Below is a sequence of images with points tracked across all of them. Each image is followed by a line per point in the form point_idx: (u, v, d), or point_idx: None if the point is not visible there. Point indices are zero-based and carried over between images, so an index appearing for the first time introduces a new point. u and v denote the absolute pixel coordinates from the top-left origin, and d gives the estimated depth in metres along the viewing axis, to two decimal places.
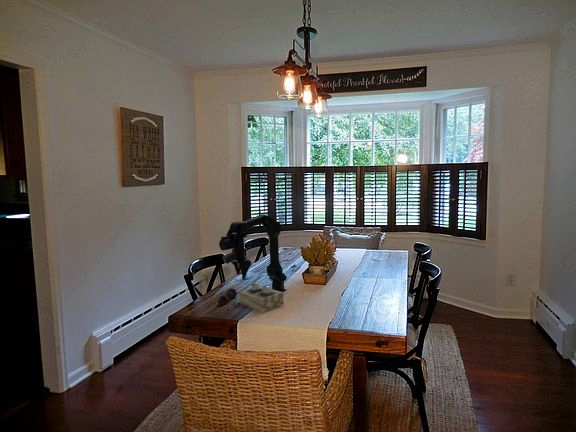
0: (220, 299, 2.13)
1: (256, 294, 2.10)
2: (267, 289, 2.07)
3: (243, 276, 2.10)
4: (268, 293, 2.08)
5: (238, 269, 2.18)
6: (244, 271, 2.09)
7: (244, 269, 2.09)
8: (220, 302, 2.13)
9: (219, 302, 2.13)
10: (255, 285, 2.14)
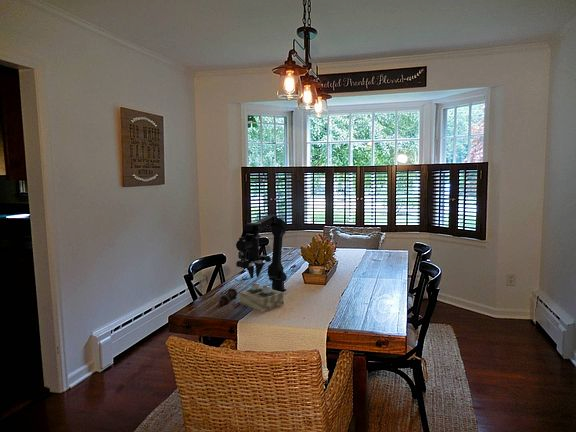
0: (221, 299, 2.13)
1: (256, 294, 2.10)
2: (267, 289, 2.07)
3: (250, 275, 2.14)
4: (268, 293, 2.08)
5: (257, 271, 2.16)
6: (250, 271, 2.13)
7: (250, 269, 2.12)
8: (221, 302, 2.13)
9: (220, 302, 2.13)
10: (255, 285, 2.14)
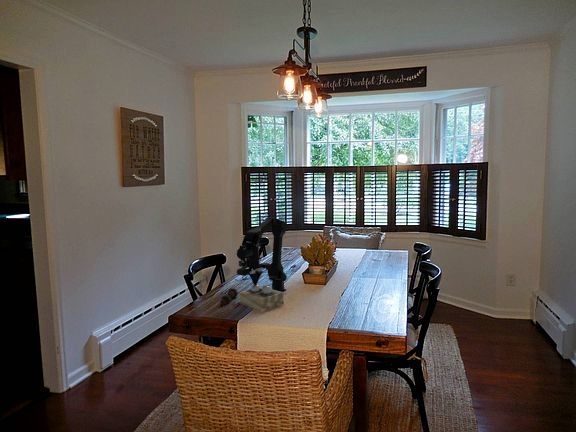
0: (223, 299, 2.13)
1: (256, 294, 2.10)
2: (267, 289, 2.07)
3: (253, 282, 2.15)
4: (268, 293, 2.08)
5: None
6: (253, 278, 2.14)
7: (253, 276, 2.14)
8: (223, 302, 2.13)
9: (222, 302, 2.13)
10: (255, 287, 2.14)
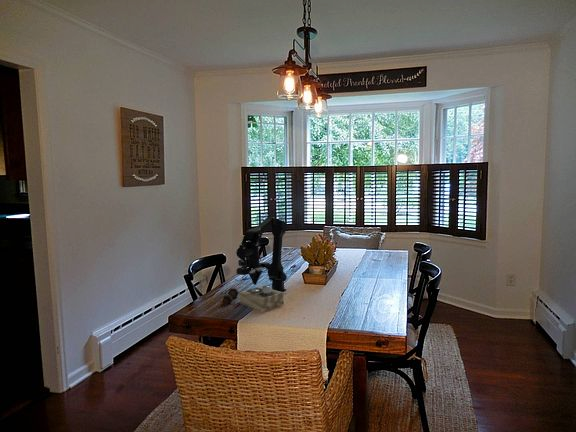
0: (224, 299, 2.13)
1: (256, 294, 2.10)
2: (267, 289, 2.07)
3: (253, 282, 2.15)
4: (268, 293, 2.08)
5: None
6: (252, 277, 2.14)
7: (252, 275, 2.14)
8: (224, 302, 2.13)
9: (223, 302, 2.13)
10: None
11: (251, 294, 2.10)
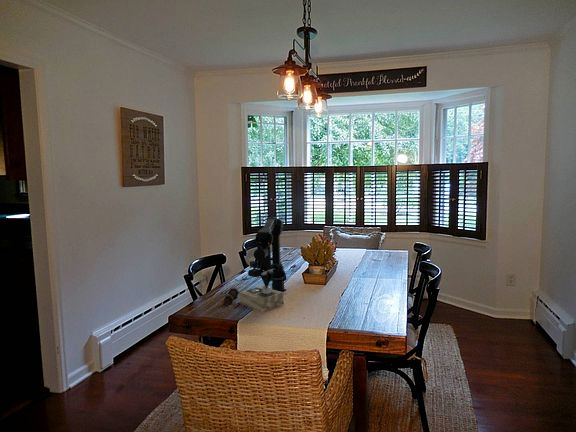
0: (226, 299, 2.13)
1: (256, 294, 2.10)
2: (267, 290, 2.07)
3: (264, 284, 2.09)
4: (268, 294, 2.08)
5: None
6: (264, 279, 2.08)
7: (264, 277, 2.07)
8: (226, 302, 2.13)
9: (225, 302, 2.13)
10: None
11: (251, 294, 2.10)
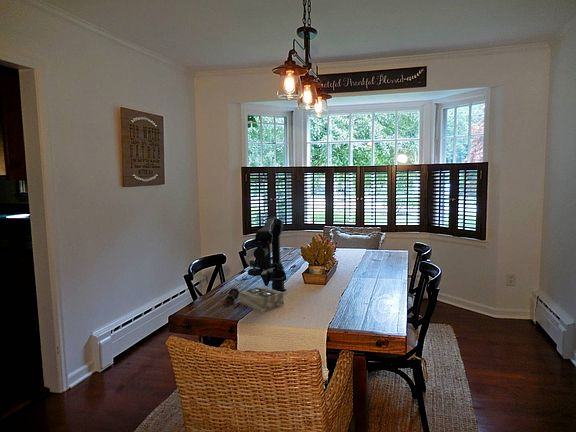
0: (228, 299, 2.13)
1: (256, 294, 2.10)
2: None
3: (264, 283, 2.08)
4: None
5: None
6: (264, 278, 2.07)
7: (264, 276, 2.07)
8: (228, 302, 2.13)
9: (227, 302, 2.13)
10: None
11: (251, 294, 2.10)
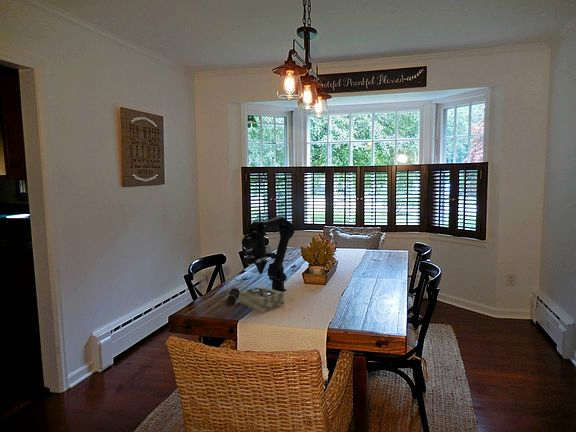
0: (229, 299, 2.13)
1: (256, 294, 2.10)
2: None
3: (259, 271, 2.22)
4: None
5: None
6: (258, 267, 2.21)
7: (258, 265, 2.21)
8: (230, 302, 2.13)
9: (228, 302, 2.13)
10: None
11: (251, 294, 2.10)
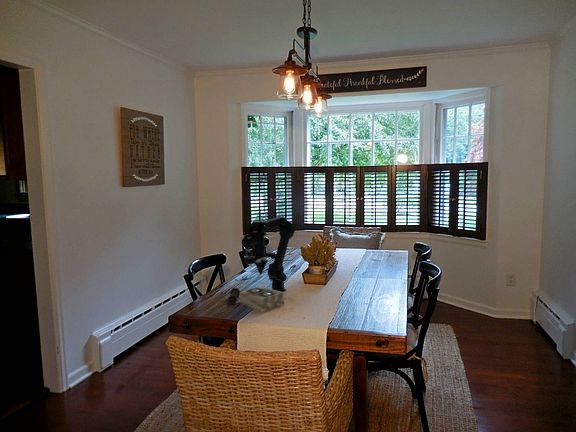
0: (231, 299, 2.13)
1: (256, 294, 2.10)
2: None
3: (259, 271, 2.22)
4: None
5: None
6: (258, 266, 2.21)
7: (258, 265, 2.21)
8: (231, 302, 2.13)
9: (230, 302, 2.13)
10: None
11: (251, 294, 2.10)
